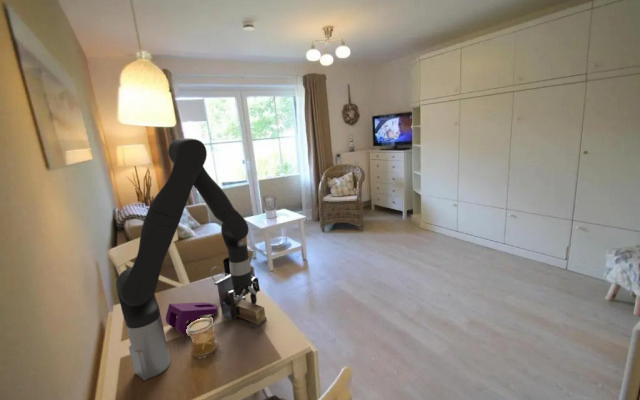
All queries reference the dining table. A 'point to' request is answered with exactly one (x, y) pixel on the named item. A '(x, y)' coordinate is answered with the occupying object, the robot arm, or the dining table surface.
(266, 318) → the far saddle
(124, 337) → the dining table surface
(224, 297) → the cup bracket
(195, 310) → the mounting bracket
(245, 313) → the brown wooden block
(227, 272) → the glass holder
